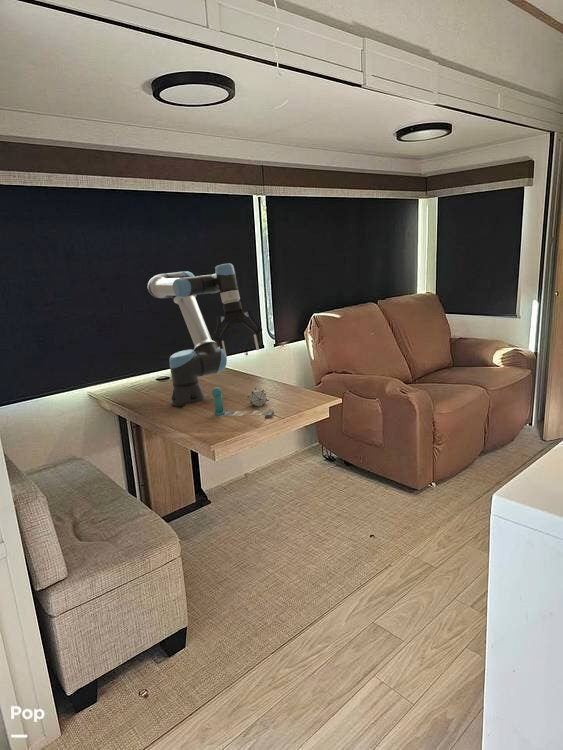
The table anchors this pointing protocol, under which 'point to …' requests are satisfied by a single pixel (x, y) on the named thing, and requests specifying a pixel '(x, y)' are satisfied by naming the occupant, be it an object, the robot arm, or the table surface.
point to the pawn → (218, 401)
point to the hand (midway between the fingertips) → (241, 353)
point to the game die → (257, 398)
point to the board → (249, 413)
